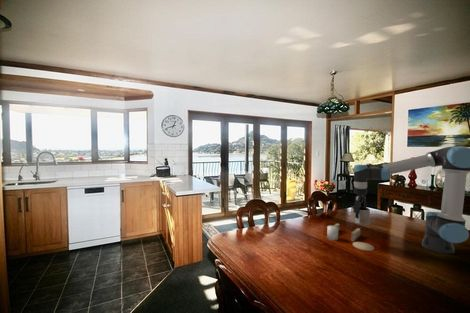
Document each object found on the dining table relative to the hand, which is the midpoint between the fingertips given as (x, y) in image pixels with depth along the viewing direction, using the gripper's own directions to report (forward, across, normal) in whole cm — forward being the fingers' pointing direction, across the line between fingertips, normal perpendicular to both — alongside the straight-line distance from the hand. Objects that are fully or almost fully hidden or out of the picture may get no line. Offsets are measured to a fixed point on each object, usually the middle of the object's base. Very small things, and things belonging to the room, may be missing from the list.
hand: (360, 220), depth 140 cm
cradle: (+16, -9, -13) cm, 22 cm away
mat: (+16, +2, +2) cm, 16 cm away
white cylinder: (+16, +4, -16) cm, 23 cm away
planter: (+1, 0, 0) cm, 1 cm away
